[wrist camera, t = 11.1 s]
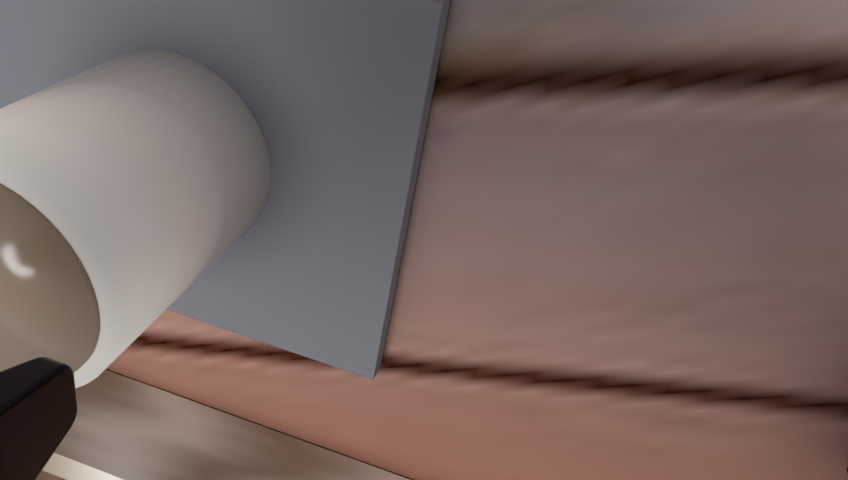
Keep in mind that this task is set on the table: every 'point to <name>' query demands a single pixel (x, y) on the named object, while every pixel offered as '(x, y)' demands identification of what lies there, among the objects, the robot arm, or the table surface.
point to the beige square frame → (182, 442)
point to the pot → (118, 203)
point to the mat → (281, 145)
